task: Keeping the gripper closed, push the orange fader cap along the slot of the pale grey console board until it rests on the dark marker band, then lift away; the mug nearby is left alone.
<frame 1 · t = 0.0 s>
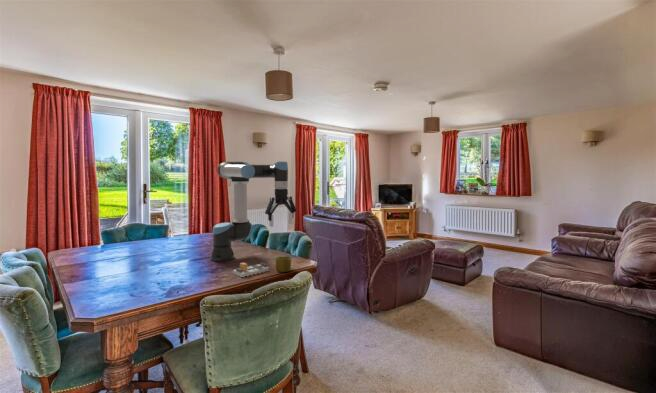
hand: (281, 225, 186), 28 cm above the table, fingers open, 13 cm apart
console: (251, 272, 188), on the table
fader: (243, 266, 184), point 4 cm above the table, slide at -5.0 cm
mug: (284, 270, 193), on the table
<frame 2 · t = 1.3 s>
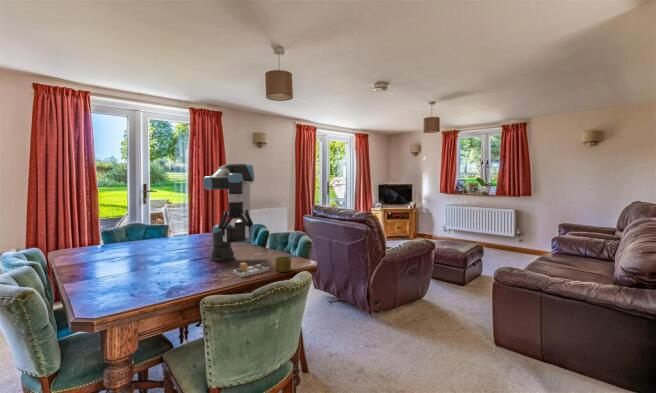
hand: (236, 239, 178), 21 cm above the table, fingers open, 13 cm apart
nothing on the table moved.
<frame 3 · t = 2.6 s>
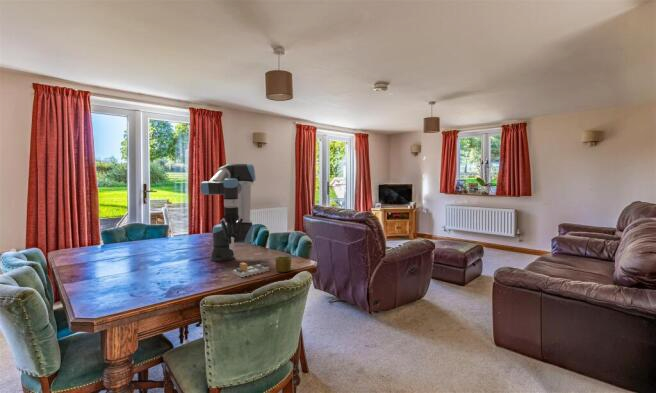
hand: (231, 249, 178), 16 cm above the table, fingers closed
nothing on the table moved.
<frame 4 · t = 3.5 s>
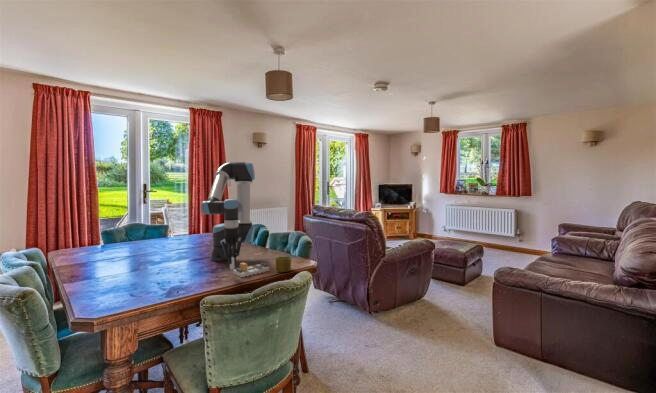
hand: (232, 269, 179), 5 cm above the table, fingers closed
nothing on the table moved.
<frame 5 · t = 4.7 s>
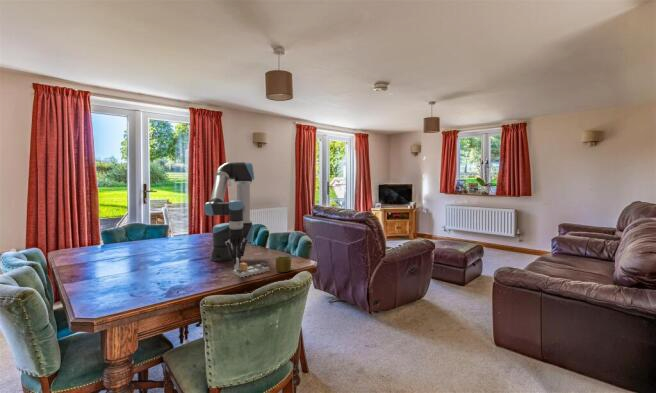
hand: (236, 269, 181), 4 cm above the table, fingers closed
nothing on the table moved.
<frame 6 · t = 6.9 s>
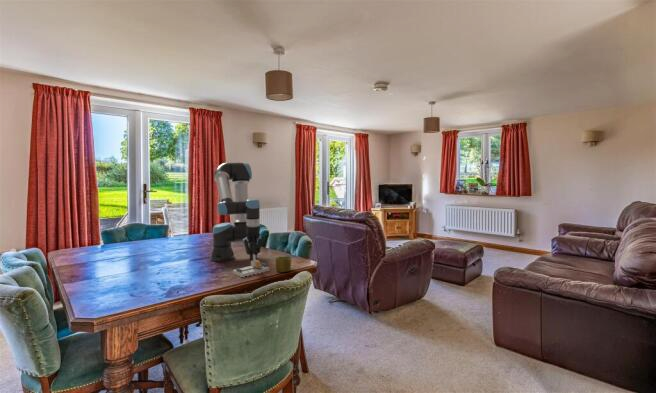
hand: (253, 265, 188), 4 cm above the table, fingers closed
fader: (256, 263, 189), point 4 cm above the table, slide at 3.3 cm, touching gripper
everything else where it was.
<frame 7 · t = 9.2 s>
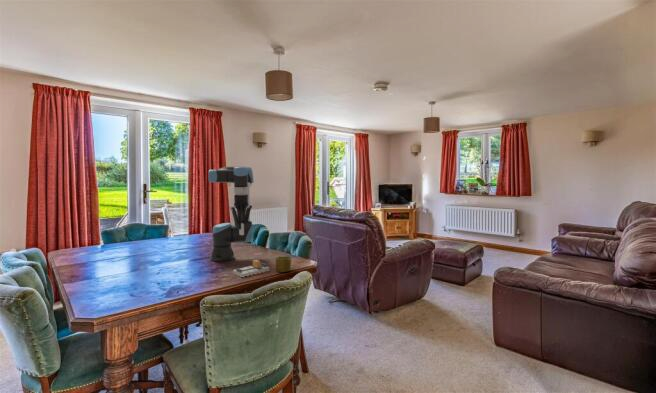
hand: (241, 234, 186), 22 cm above the table, fingers closed
fader: (256, 263, 190), point 4 cm above the table, slide at 3.4 cm
everything else where it was.
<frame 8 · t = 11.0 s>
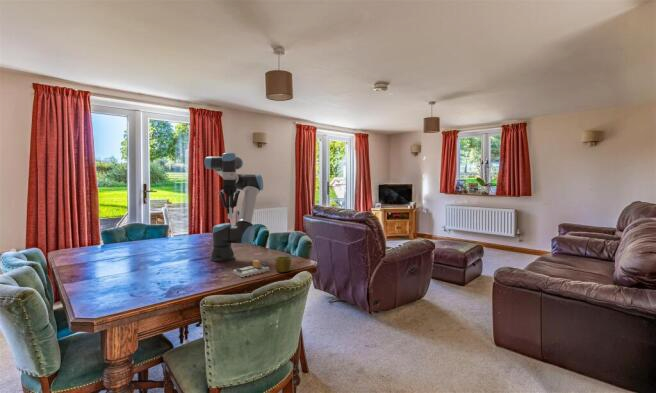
hand: (229, 218, 191), 30 cm above the table, fingers closed
nothing on the table moved.
at the end: fader slide at 3.4 cm; mug moved 0.3 cm from its start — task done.
